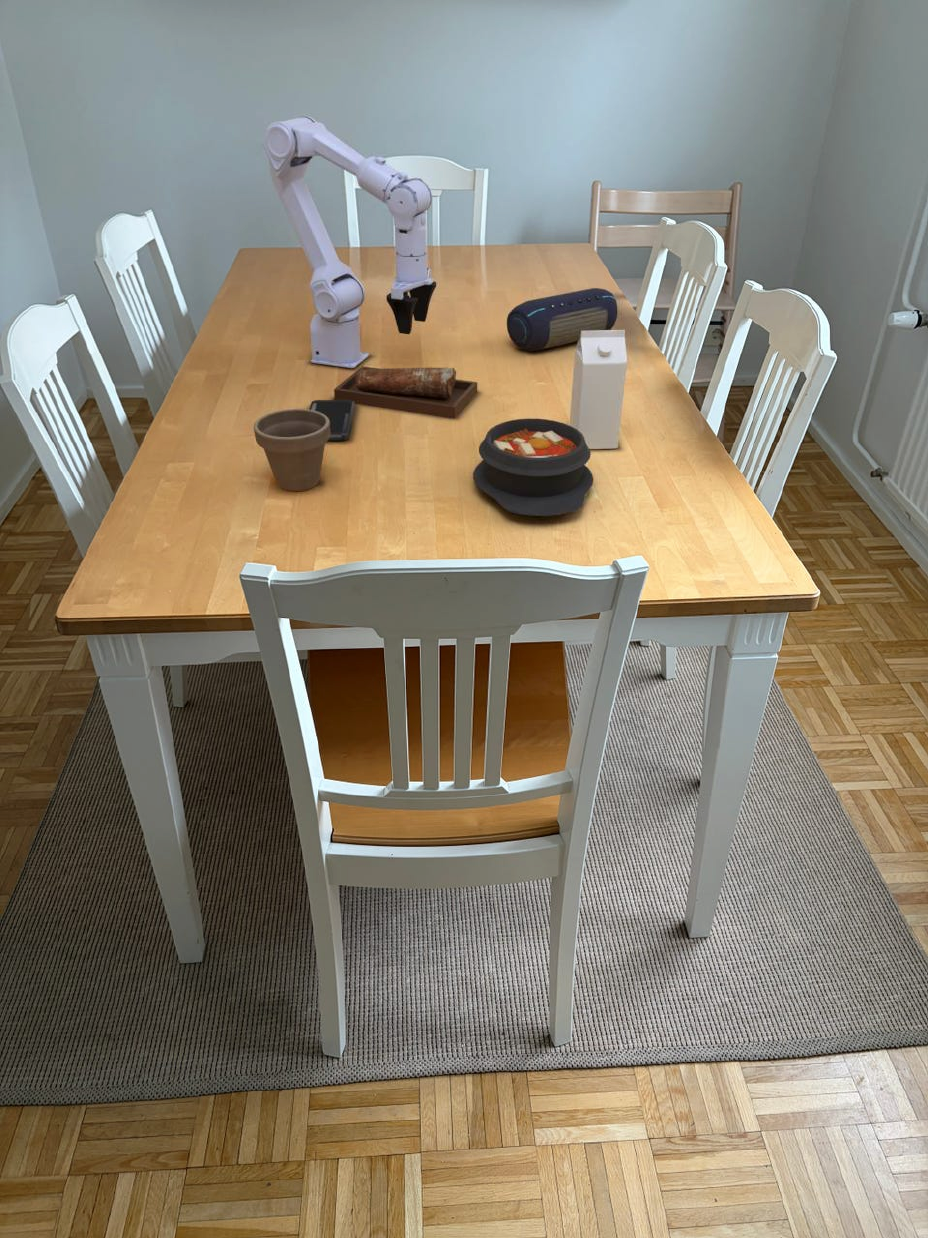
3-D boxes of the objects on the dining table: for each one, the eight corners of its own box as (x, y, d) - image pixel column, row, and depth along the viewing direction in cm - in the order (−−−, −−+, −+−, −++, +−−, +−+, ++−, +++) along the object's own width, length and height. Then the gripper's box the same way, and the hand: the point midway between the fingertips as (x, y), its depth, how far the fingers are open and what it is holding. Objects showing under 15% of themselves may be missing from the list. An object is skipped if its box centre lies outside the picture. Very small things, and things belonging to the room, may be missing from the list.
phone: (301, 434, 160) (312, 399, 172) (302, 440, 161) (312, 405, 173) (348, 434, 160) (355, 399, 172) (349, 440, 161) (356, 405, 173)
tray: (334, 400, 176) (333, 389, 174) (362, 376, 185) (362, 365, 184) (454, 418, 169) (455, 407, 168) (477, 392, 179) (477, 382, 178)
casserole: (608, 524, 139) (614, 472, 134) (482, 529, 137) (483, 477, 132) (575, 450, 159) (579, 403, 154) (465, 454, 157) (465, 406, 153)
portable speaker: (528, 360, 193) (531, 311, 187) (500, 346, 200) (502, 297, 194) (623, 338, 204) (628, 291, 198) (594, 325, 211) (598, 279, 205)
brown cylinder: (452, 404, 173) (452, 374, 170) (352, 394, 176) (350, 365, 173) (460, 391, 178) (460, 362, 175) (362, 382, 181) (360, 353, 178)
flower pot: (264, 466, 153) (257, 407, 147) (335, 464, 154) (331, 406, 148) (257, 500, 144) (249, 439, 138) (332, 498, 144) (328, 437, 139)
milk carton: (568, 432, 165) (577, 323, 154) (608, 431, 165) (620, 322, 154) (575, 450, 159) (585, 338, 148) (617, 449, 160) (630, 337, 149)
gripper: (416, 265, 166) (417, 341, 174) (445, 245, 178) (445, 317, 185) (379, 260, 168) (382, 336, 176) (410, 241, 180) (412, 313, 187)
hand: (412, 326), depth 181 cm, fingers open, 7 cm apart
